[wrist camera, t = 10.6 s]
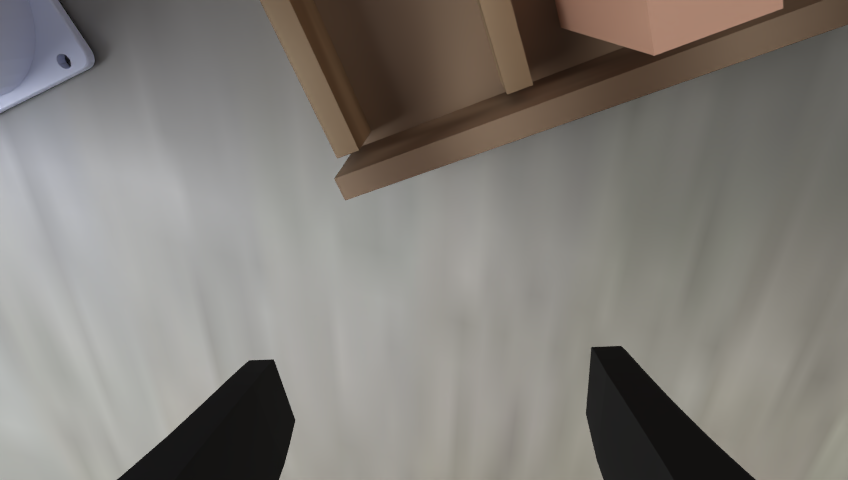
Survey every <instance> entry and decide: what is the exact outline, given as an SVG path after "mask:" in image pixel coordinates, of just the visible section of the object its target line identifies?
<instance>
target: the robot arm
mask: <svg viewBox="0 0 848 480" xmlns="http://www.w3.org/2000/svg"><path fill="white" fill-rule="evenodd" d="M65 55H66V56H67V57H68V58H69V59H70V61H71V66H69V65H68V64H67V63H66V60H65ZM94 62H95V59H94V54H93V52H92V50H91V49H90V47H89V46H88V44H87V43H86V41H85V40H84V38H83V37H82V35H81V34H80V32H79V31H78V29H77V28H76V26H75V25H74V23H73V22H72V20H71V19H70V17H69V16H68V14H67V13H66V11H65V10H64V8H63V7H62V5H61V4H60V2H59V1H58V0H0V113H2V112H4V111H6V110H8V109H10V108H12V107H14V106H16V105H18V104H20V103H22V102H24V101H26V100H28V99H30V98H32V97H34V96H36V95H38V94H40V93H42V92H44V91H46V90H48V89H50V88H52V87H54V86H56V85H58V84H60V83H62V82H64V81H66V80H68V79H70V78H72V77H74V76H76V75H78V74H80V73H82V72H84V71H86V70H88V69H90V68H91V67H92V66H93V65H94ZM586 416H587V420H588V424H589V429H590V433H591V438H592V442H593V446H594V450H595V454H596V458H597V462H598V465H599V468H600V471H601V473H602V476H603V479H604V480H755V479H754V478H753V477H752V476H751V475H750V474H749V473H747V472H746V471H745V470H744V469H743V468H742V467H741V466H740V465H739V464H738V463H736V462H735V461H734V460H733V459H732V458H731V457H730V456H729V455H728V454H727V453H725V452H724V451H723V450H722V449H721V448H720V447H719V446H718V445H717V444H716V443H715V442H714V441H713V440H712V439H711V438H710V437H708V436H707V435H706V434H705V433H704V432H703V431H702V430H701V429H700V428H699V427H698V426H697V425H696V424H695V423H694V422H693V421H692V420H691V419H690V418H689V417H688V416H687V415H686V414H685V413H684V412H683V411H682V410H681V409H680V408H679V407H678V406H677V405H676V404H675V403H674V402H673V401H672V400H671V399H670V398H669V397H668V396H667V395H666V393H665V392H664V391H663V390H662V389H661V388H660V387H659V386H658V385H657V384H656V383H655V382H654V381H653V380H652V379H651V378H650V376H649V375H648V374H647V373H646V372H645V371H644V370H643V369H642V368H641V367H640V366H639V364H638V363H637V362H636V361H635V360H634V359H633V358H632V357H631V356H630V355H629V353H628V352H627V351H626V350H625V349H624V348H623V347H621V346H610V347H591V360H590V372H589V384H588V396H587V408H586ZM294 423H295V418H294V415H293V413H292V410H291V407H290V404H289V401H288V398H287V396H286V393H285V390H284V387H283V384H282V382H281V379H280V376H279V373H278V370H277V367H276V365H275V362H274V360H250V361H248V362H247V363H246V364H245V365H243V366H242V367H241V368H240V369H239V370H238V371H237V372H236V373H235V374H234V375H232V376H231V377H230V378H229V379H228V380H227V381H226V382H225V383H224V384H223V385H222V386H221V387H220V388H219V389H218V390H217V391H216V392H214V393H213V394H212V395H211V396H210V397H209V398H208V399H207V400H206V401H205V402H204V403H203V404H202V405H201V406H200V407H199V408H197V409H196V410H195V411H194V412H193V413H192V414H191V415H190V416H189V417H188V418H187V419H186V420H185V421H183V422H182V423H181V424H180V425H179V426H178V427H177V428H176V429H175V430H174V431H173V432H172V433H171V434H169V435H168V436H167V437H166V438H165V439H164V440H163V441H161V442H160V443H159V444H158V445H157V446H156V447H155V448H153V449H152V450H151V451H150V452H149V453H148V454H146V455H145V456H144V457H143V458H142V459H141V460H140V461H138V462H137V463H136V464H135V465H134V466H133V467H131V468H130V469H129V470H128V471H127V472H126V473H125V474H123V475H122V476H121V477H120V478H119V479H117V480H279V477H280V475H281V472H282V469H283V467H284V464H285V460H286V456H287V452H288V448H289V445H290V440H291V436H292V432H293V428H294Z"/></svg>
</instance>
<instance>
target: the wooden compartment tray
mask: <svg viewBox="0 0 848 480" xmlns="http://www.w3.org/2000/svg"><path fill="white" fill-rule="evenodd" d="M260 2H261V4H262V6H263V8H264V10H265V12H266V14H267V16H268V18H269V20H270V22H271V24H272V26H273V28H274V30H275V32H276V35H277V37H278V39H279V41H280V43H281V45H282V47H283V49H284V51H285V53H286V55H287V57H288V59H289V61H290V63H291V65H292V67H293V69H294V71H295V73H296V75H297V77H298V79H299V81H300V83H301V85H302V87H303V90H304V92H305V94H306V96H307V98H308V100H309V102H310V104H311V106H312V108H313V110H314V112H315V114H316V116H317V118H318V120H319V122H320V124H321V126H322V128H323V130H324V132H325V134H326V136H327V138H328V140H329V142H330V145H331V147H332V149H333V151H334V153H335V155H336V157H337V158H340V157H343V156H345V155H348V154H351V155H350V156H349V158H348V159H347V161H346V162H345V164H344V165H343V167H342V168H341V170H340V171H339V172H338V174H337V175H336V177H335V178H334V179H335V181H336V183H337V185H338V187H339V189H340V191H341V193H342V195H343V197H344V199H345V200H348V199H351V198H353V197H356V196H359V195H362V194H365V193H368V192H371V191H373V190H376V189H379V188H382V187H385V186H388V185H391V184H393V183H396V182H399V181H402V180H405V179H408V178H411V177H413V176H416V175H419V174H422V173H425V172H428V171H431V170H433V169H436V168H439V167H442V166H445V165H448V164H451V163H453V162H456V161H459V160H462V159H465V158H468V157H471V156H473V155H476V154H479V153H482V152H485V151H488V150H491V149H493V148H496V147H499V146H502V145H505V144H508V143H511V142H513V141H516V140H519V139H522V138H525V137H528V136H531V135H533V134H536V133H539V132H542V131H545V130H548V129H551V128H553V127H556V126H559V125H562V124H565V123H568V122H571V121H573V120H576V119H579V118H582V117H585V116H588V115H591V114H593V113H596V112H599V111H602V110H605V109H608V108H611V107H613V106H616V105H619V104H622V103H625V102H628V101H631V100H633V99H636V98H639V97H642V96H645V95H648V94H651V93H653V92H656V91H659V90H662V89H665V88H668V87H670V86H673V85H676V84H679V83H682V82H685V81H688V80H690V79H693V78H696V77H699V76H702V75H705V74H708V73H710V72H713V71H716V70H719V69H722V68H725V67H728V66H730V65H733V64H736V63H739V62H742V61H745V60H748V59H750V58H753V57H756V56H759V55H762V54H765V53H768V52H770V51H773V50H776V49H779V48H782V47H785V46H788V45H790V44H793V43H796V42H799V41H802V40H805V39H808V38H810V37H813V36H816V35H819V34H822V33H825V32H828V31H830V30H833V29H836V28H839V27H842V26H845V25H848V0H783V9H780V10H777V11H775V12H772V13H769V14H766V15H764V16H761V17H758V18H756V19H753V20H750V21H747V22H745V23H742V24H739V25H737V26H734V27H731V28H728V29H726V30H723V31H720V32H718V33H715V34H712V35H709V36H707V37H704V38H701V39H699V40H696V41H693V42H690V43H688V44H685V45H682V46H680V47H677V48H674V49H671V50H669V51H666V52H663V53H661V54H658V55H655V56H653V55H650V54H647V53H643V52H640V51H637V50H634V49H630V48H627V47H624V46H620V45H617V44H614V43H610V42H607V41H604V40H600V39H597V38H594V37H590V36H587V35H584V34H580V33H577V32H574V31H570V30H567V29H564V28H561V26H560V22H559V17H558V13H557V8H556V4H555V0H260Z"/></svg>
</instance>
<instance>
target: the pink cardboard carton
mask: <svg viewBox="0 0 848 480" xmlns="http://www.w3.org/2000/svg"><path fill="white" fill-rule="evenodd" d="M555 4H556V8H557V13H558V17H559V22H560V26H561V28H564V29H567V30H570V31H574V32H577V33H580V34H584V35H587V36H590V37H594V38H597V39H600V40H604V41H607V42H610V43H614V44H617V45H620V46H624V47H627V48H630V49H634V50H637V51H640V52H643V53H647V54H650V55H653V56H655V55H658V54H661V53H663V52H666V51H669V50H671V49H674V48H677V47H680V46H682V45H685V44H688V43H690V42H693V41H696V40H699V39H701V38H704V37H707V36H709V35H712V34H715V33H718V32H720V31H723V30H726V29H728V28H731V27H734V26H737V25H739V24H742V23H745V22H747V21H750V20H753V19H756V18H758V17H761V16H764V15H766V14H769V13H772V12H775V11H777V10H780V9H783V0H555Z"/></svg>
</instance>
